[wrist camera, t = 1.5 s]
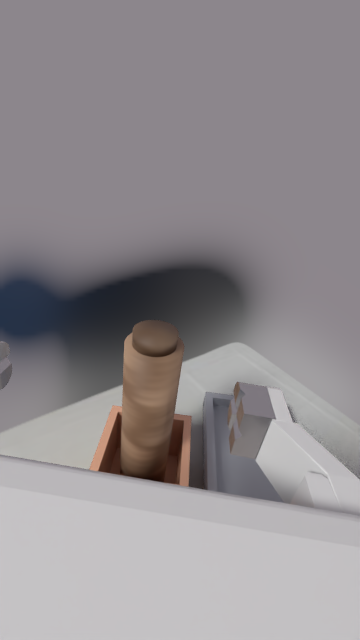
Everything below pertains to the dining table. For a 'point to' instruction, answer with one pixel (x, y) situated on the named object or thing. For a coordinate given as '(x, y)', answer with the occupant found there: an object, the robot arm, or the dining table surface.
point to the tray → (229, 456)
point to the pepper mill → (149, 398)
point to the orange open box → (177, 455)
